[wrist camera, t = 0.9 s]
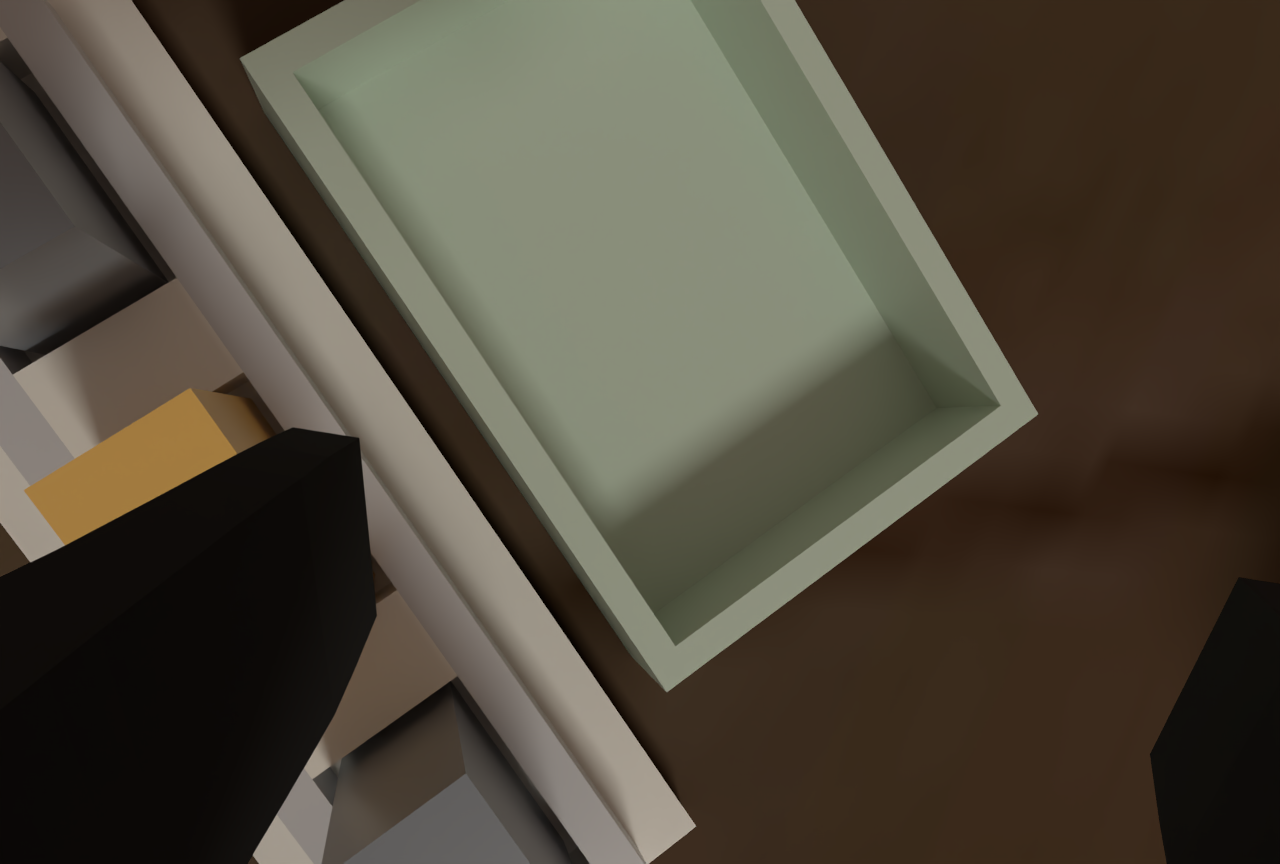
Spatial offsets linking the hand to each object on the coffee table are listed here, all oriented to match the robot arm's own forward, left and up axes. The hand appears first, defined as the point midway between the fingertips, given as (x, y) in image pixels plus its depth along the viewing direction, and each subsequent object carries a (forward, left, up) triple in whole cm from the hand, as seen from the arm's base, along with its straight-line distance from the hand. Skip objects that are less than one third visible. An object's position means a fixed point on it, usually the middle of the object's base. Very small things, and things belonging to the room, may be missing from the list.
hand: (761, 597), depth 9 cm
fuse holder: (-5, +3, -13) cm, 14 cm away
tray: (+4, +3, -13) cm, 14 cm away
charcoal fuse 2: (-5, -4, -12) cm, 13 cm away
